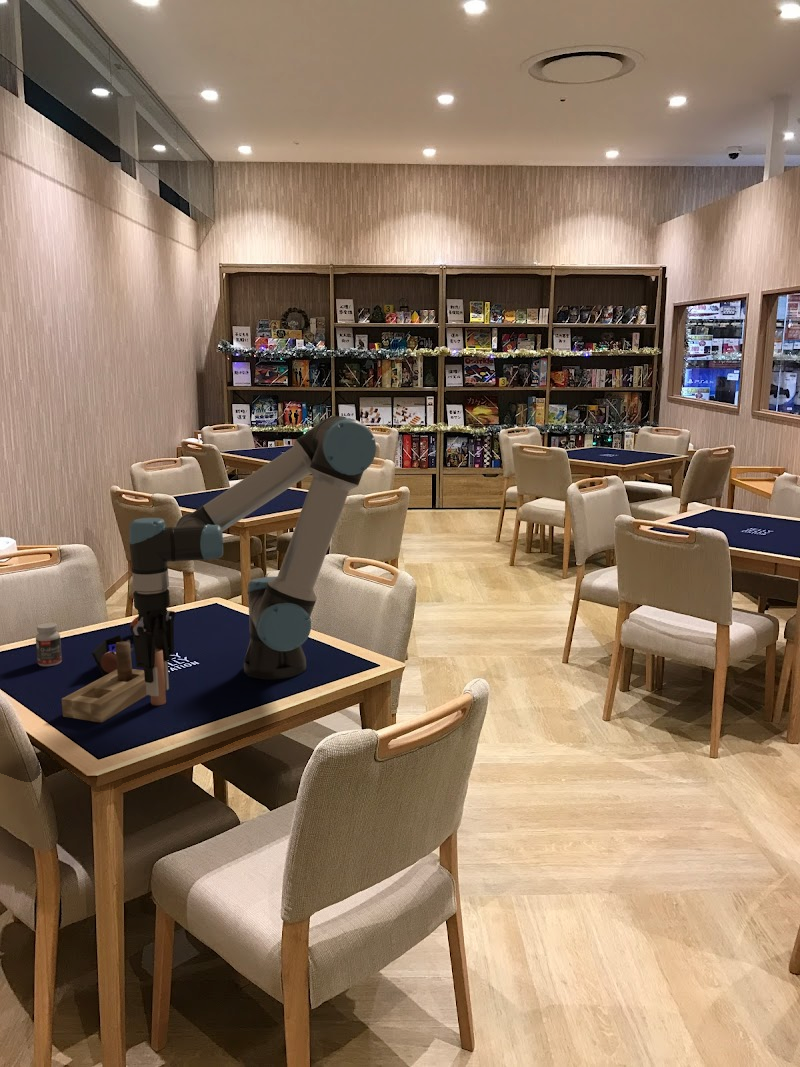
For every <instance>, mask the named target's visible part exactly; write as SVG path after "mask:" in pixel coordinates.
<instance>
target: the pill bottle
mask: <svg viewBox="0 0 800 1067" xmlns="http://www.w3.org/2000/svg"><path fill="white" fill-rule="evenodd" d="M57 630H58V624H57V623H55V622H45V623H40V624H38V625H37V626H36V631H37V632H38V633H37V634H36V636H35V646H36V656H37V657H36V659H37V660H36V661H37V664H38V665H39V666H40V667H52V666H53V667H54V666H57V665H59V664H61V662H62V661H63V657H62V656H63V654H62V642H61V634H60V632H58V631H57Z"/></svg>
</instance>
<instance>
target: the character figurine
mask: <svg viewBox="0 0 800 1067" xmlns="http://www.w3.org/2000/svg"><path fill="white" fill-rule="evenodd" d="M126 641H127V642H130V643H131V640H130V639H127V640H126ZM118 642H123V639H122V637H121V635H120V634H118V635H116V636H113V637H110V638H108V639H105V640H103V641H102V642H101V643H100V644H99V645H98V646H97V647H96V648H95V649H94V650H93V652H91V655H92V656H93V659H94V661H95V663H96V665H97V667H98V670H99V672H100V674H101V675H102V677H103V676H105V675H107V674H109V673H111V672H113V671H115V670H117V661H116V648H115V644H116V643H118ZM130 648H131V653H132V652H133V651H135V649H134V646H130Z"/></svg>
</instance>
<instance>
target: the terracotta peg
mask: <svg viewBox="0 0 800 1067" xmlns="http://www.w3.org/2000/svg"><path fill="white" fill-rule="evenodd" d="M154 667H157V672H158V688H159V695H158V696H151V695H150V704H151V705H152V706H162V705H165V704H166V703H167V695H166V693H167V692H166V690H165V678H164V662H163V650H162V649H156V648H155V665H154Z"/></svg>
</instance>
